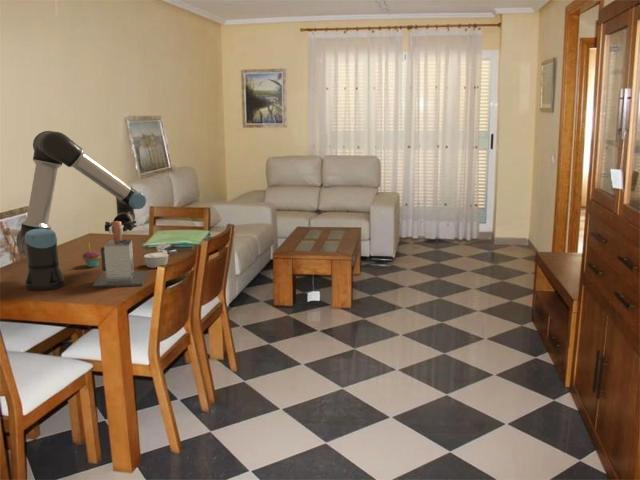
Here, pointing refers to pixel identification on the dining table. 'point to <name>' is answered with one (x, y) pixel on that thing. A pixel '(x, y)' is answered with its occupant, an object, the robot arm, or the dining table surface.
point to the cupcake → (91, 257)
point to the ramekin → (156, 259)
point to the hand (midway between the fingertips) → (115, 231)
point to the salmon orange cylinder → (117, 231)
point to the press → (118, 266)
